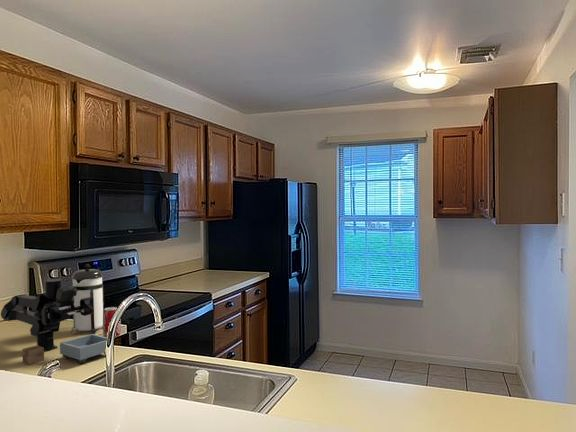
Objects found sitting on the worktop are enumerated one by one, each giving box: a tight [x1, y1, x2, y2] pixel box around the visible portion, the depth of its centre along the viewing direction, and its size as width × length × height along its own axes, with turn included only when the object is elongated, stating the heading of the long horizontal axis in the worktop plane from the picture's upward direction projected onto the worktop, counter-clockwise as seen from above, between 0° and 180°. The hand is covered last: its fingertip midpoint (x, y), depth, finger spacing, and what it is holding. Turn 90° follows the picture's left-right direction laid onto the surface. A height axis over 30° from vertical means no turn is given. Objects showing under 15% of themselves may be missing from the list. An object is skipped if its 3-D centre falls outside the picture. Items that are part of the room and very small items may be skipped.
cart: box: [59, 333, 107, 364], centre depth 164 cm, size 13×13×6 cm
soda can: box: [102, 306, 122, 338], centre depth 190 cm, size 7×7×12 cm
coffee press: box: [70, 263, 105, 335], centre depth 200 cm, size 17×16×30 cm
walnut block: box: [21, 344, 45, 366], centre depth 160 cm, size 5×5×5 cm
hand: (81, 313), depth 160 cm, fingers open, 9 cm apart
